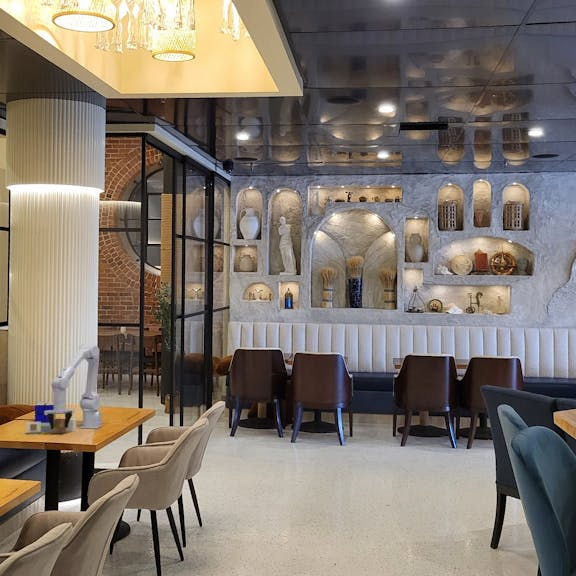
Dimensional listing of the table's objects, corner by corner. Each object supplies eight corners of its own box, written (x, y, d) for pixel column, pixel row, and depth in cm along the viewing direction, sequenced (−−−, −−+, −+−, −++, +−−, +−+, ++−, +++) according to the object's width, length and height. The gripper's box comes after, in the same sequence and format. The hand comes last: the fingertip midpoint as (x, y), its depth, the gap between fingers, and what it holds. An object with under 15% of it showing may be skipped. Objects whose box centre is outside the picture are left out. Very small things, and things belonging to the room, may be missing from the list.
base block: (57, 429, 390) (57, 423, 390) (51, 432, 381) (51, 426, 381) (41, 429, 390) (41, 422, 390) (34, 432, 382) (35, 425, 382)
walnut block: (65, 430, 379) (65, 418, 379) (62, 432, 374) (62, 420, 374) (56, 430, 380) (56, 418, 380) (52, 432, 375) (52, 420, 375)
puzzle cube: (34, 423, 406) (34, 405, 406) (37, 420, 416) (37, 402, 416) (53, 423, 408) (53, 404, 408) (55, 419, 418) (55, 402, 418)
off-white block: (76, 429, 389) (76, 418, 389) (72, 431, 384) (73, 419, 384) (67, 429, 389) (67, 418, 389) (63, 431, 385) (64, 419, 385)
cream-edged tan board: (40, 432, 380) (40, 421, 380) (40, 433, 376) (40, 422, 376) (26, 433, 377) (26, 421, 378) (25, 434, 374) (26, 422, 374)
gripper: (71, 399, 384) (71, 425, 384) (43, 401, 377) (42, 428, 377) (75, 401, 378) (75, 427, 378) (46, 403, 371) (46, 430, 371)
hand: (59, 428), depth 377 cm, fingers closed on walnut block, 7 cm apart
